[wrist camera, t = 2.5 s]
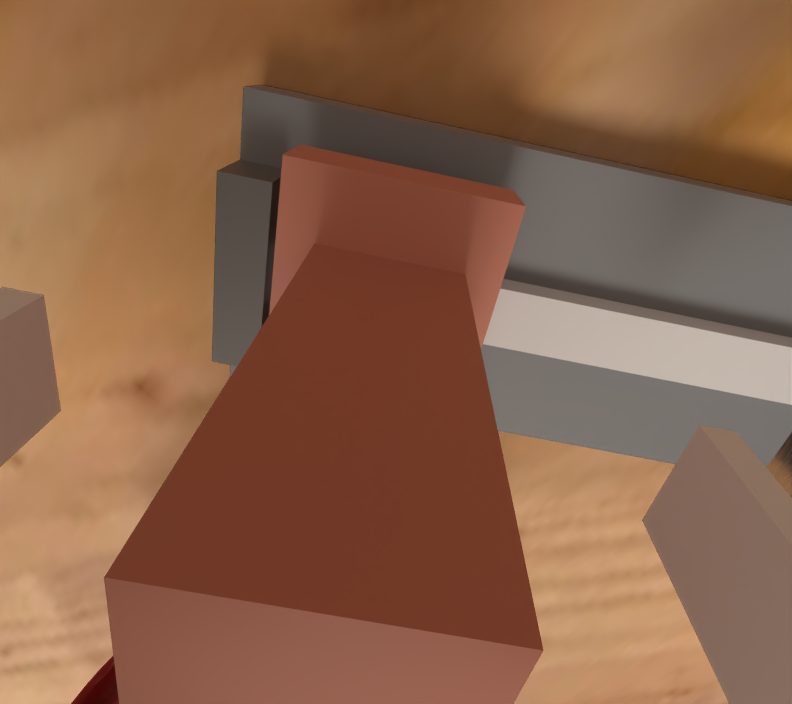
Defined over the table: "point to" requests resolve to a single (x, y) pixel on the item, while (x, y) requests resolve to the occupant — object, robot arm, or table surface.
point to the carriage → (344, 471)
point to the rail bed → (561, 280)
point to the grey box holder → (783, 465)
